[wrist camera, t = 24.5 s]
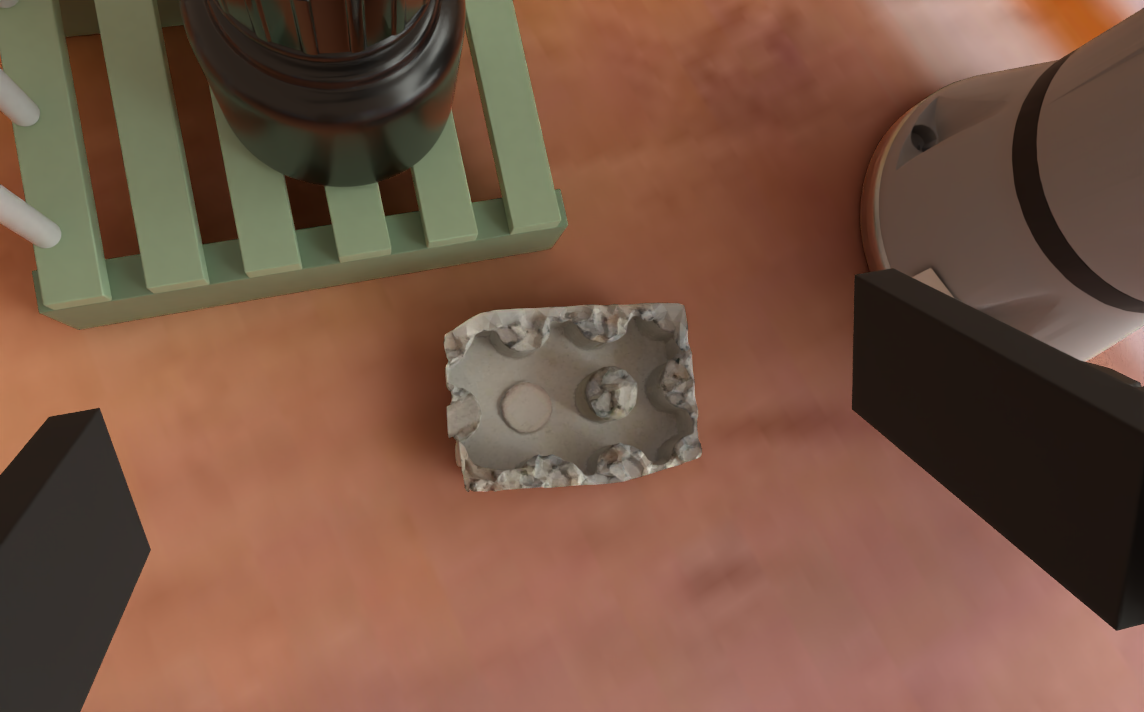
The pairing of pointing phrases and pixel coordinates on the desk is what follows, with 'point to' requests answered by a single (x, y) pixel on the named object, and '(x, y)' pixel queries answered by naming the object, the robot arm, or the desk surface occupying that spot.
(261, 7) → the ink bottle
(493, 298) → the desk surface
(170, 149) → the drying rack
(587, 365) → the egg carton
